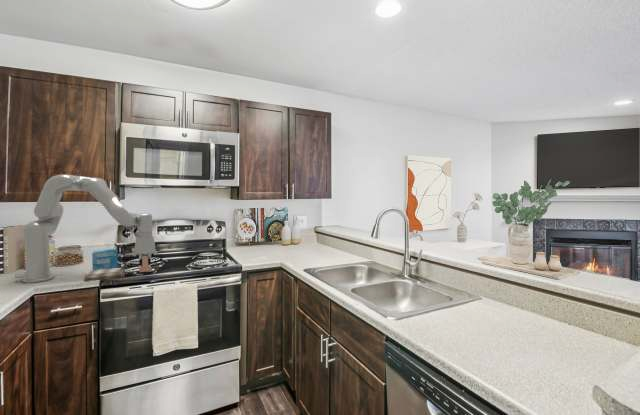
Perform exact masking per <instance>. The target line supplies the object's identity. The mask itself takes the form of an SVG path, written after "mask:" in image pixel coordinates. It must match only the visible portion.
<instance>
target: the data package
mask: <svg viewBox="0 0 640 415" xmlns="http://www.w3.org/2000/svg"><path fill="white" fill-rule="evenodd" d="M91 256H92V257H91V258H92V260H91V261H92V262H91V264H92V270H102V269H113V268H119V264H118V263H119V261H118V260H119V257H118V256H119V253H118V250H117V249H114V248H109V249H102V250H101V249H100V250H93V252H92V254H91Z"/></svg>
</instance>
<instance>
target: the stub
mask: <svg viewBox="0 0 640 415" xmlns="http://www.w3.org/2000/svg"><path fill="white" fill-rule="evenodd" d="M148 257H149V256H148V255H142V256H141V258H142V266H141V265H138V271H139V272H138V273H145V272H146V273H147V272H152V266H151V264H149V266H148Z"/></svg>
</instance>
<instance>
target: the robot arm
mask: <svg viewBox="0 0 640 415" xmlns="http://www.w3.org/2000/svg"><path fill="white" fill-rule="evenodd" d="M107 183H108V182H106V181H105V179H104V178H101V177H100V178H99V177H89V176H80V175H73V174H57V175H53V176H52V177H50V178H48V179H47V180H46V181H45V182H44V185H43V188H42V190H41V193H40V194H39V197H38V199H37V202H36V204H35V206H34V208H33V214H34V216H35V217H37V218H38V219H37V220H33V221H30V222H28V223H26V224H25V225H24V227H23V230H22V234H23V239H24V245H25V247H24V248H25V250H24V251H25V272H23V273H15V274H14V278H17V279H21V278H22V279H21V281H22V282H23V283H27V284H29V283H41V282H45V281H49V280H53V279H54V278H55V275H54V274H51V251H50V250H51V247H50V245H51V244H50V240H49V237H48V236H51V235H53V234H54V233H56V231H57V228H58V226H59V224H60V222H61V220H62V217H63V213H64V206H63V205H62V204H61V203H60V201H61V200H62V197H63V196H62V195H63V192H65V191H74V192H75V191H76V192H85V193H89V194H90V195H91V196H93V197H94V199H96V200H97V201H98V202H99V203H100V204H101V205H102V206H103V207H104V208H105V210H106V211H107V212H108V214H109V215H110V216H111V217H112V218H113V219H114V220H115V221H116V222H117V223H118V224H120V225H121V226H122V227H124V228H130V227H132V226H137V231H136V232H135V233H134V236H136V237H135V242H134V250H133V252H132V253H131V255H132V256H133V257H136V259H138V260H139V261H138V263H139V265H138V266H142V256H143V255H147V256H148V266H149V265H151V264H152V262H151V261H152V260H151V259H152V258H153V257H154V256H155V255H157V254H158V251H157V249H156V246H155V245H156V243H155V237H154V235H153V215H152V214H151V213H145V212H143V213H137V212H136V213H133V212H129V211H128V210H126V209H125V207H124V206H123V205H122V203H121V202H120V198H119V196H118V195H116V194H115V192H113V190H112V189H110V188H109V186H108V184H107Z"/></svg>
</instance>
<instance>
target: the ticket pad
mask: <svg viewBox="0 0 640 415" xmlns="http://www.w3.org/2000/svg"><path fill="white" fill-rule="evenodd" d="M123 269H124V267H117V268H113V269H102V270H93V269H92V270H88V271H87V273H86V275H85V276H84V280H83V281H84V282H92V281H100V280H101V281H102V280H110V279H119V278H125V277H126V276H125V274H126V272H125V270H123Z"/></svg>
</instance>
